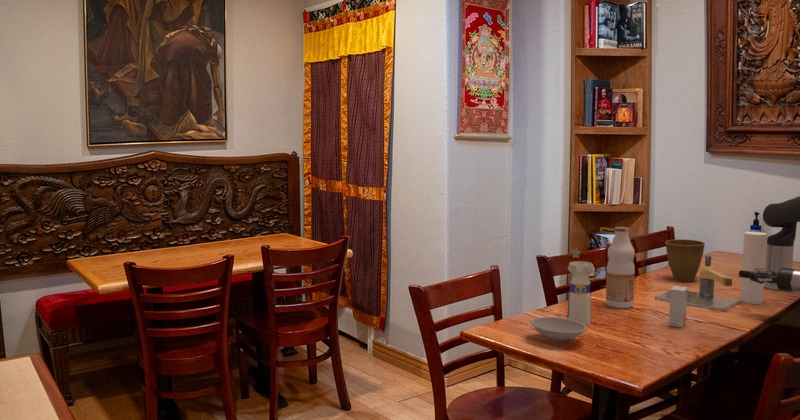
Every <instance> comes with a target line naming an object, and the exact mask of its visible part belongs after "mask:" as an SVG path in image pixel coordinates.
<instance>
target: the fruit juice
mask: <svg viewBox="0 0 800 420" xmlns="http://www.w3.org/2000/svg"><path fill="white" fill-rule="evenodd" d="M614 233H615V234H614V237H613V240H612V242H611V244H610V245H609V247H608V249H607V257H608V262H607V265H606V281H605V286H606V288H605V305H607V306H608V307H610V308H614V309H615V308H617V309H630V308H632V307H633V306H634V301H635V300H634V295H635V273H636V271H635V269H636V268H635V267H636V266H635V264H634V259H635V254H636V252H635V248H634V247H633V244H632V242H631V239H630V236H629V233H630V228H629V227H626V226H615V227H614Z"/></svg>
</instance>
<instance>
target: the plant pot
mask: <svg viewBox="0 0 800 420" xmlns="http://www.w3.org/2000/svg"><path fill="white" fill-rule="evenodd" d="M705 244H706V243H705V242H704V241H701V240H695V239H684V238H683V239H680V238H679V239H669V240H666V241H665V249H666V255H667V260H668V263H669V264H668V265H669V267H670V271H671V274H672V277H673V280H674V281H676V282H679V283H680V282H681V283H692V282H694V281H695V278H696V276H697V274H698V271H699V269H700V267H701V263H702V260H703V255H704V251H705Z"/></svg>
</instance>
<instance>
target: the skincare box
mask: <svg viewBox="0 0 800 420" xmlns="http://www.w3.org/2000/svg"><path fill="white" fill-rule="evenodd" d="M670 291H671V292H670V302H669V314H668V315H669V316H668V317H669V318H668V326H670V327H675V328H676V327H677V328H683V327H684V325H686V322H687V321H686V320H687V306H688V305H687V291H688V287H687V286H678V285H674V286H672V288H671V289H670Z"/></svg>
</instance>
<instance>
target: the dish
mask: <svg viewBox="0 0 800 420" xmlns="http://www.w3.org/2000/svg"><path fill="white" fill-rule="evenodd" d="M529 323H530V325H531V326H532V327H534V329H535V330H536V331H537V333H539V334H541V335H542V336H543V337H546V338H548V339H551V340H554V341H556V342H561V341H570V340H573V339H574V340H575V339H576V338H577V337H579V336H581V335H582V334H583V333H584V332H586V331H587V330H588V326H587V325H585V324H583V323H581V322H578V321H575V320H571V319H567V318H564V317H555V316H540V317H536V318H532V319H531V320H530V321H529Z"/></svg>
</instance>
